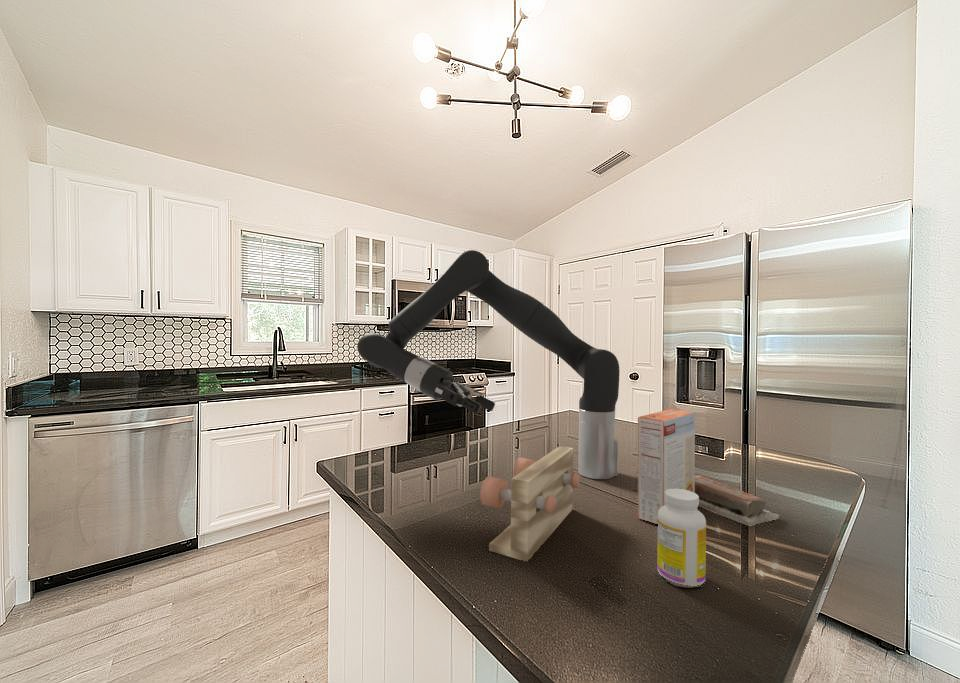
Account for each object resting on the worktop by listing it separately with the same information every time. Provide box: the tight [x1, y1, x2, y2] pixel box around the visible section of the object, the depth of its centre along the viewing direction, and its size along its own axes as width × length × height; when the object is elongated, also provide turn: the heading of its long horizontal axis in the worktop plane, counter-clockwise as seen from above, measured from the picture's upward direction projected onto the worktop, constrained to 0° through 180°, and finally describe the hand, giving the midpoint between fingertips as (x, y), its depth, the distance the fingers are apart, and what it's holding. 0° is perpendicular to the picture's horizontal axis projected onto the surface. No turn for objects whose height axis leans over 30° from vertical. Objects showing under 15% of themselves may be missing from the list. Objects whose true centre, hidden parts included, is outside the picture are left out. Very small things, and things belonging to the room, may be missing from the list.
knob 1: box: [479, 476, 556, 514], centre depth 73 cm, size 13×5×5 cm, turn 60°
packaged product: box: [695, 474, 780, 525], centre depth 91 cm, size 18×5×10 cm
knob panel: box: [488, 445, 574, 563], centre depth 79 cm, size 7×24×13 cm, turn 150°
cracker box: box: [637, 408, 696, 525], centre depth 86 cm, size 14×6×21 cm, turn 131°
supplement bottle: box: [656, 489, 707, 586], centre depth 63 cm, size 7×7×13 cm
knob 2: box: [513, 457, 581, 489], centre depth 86 cm, size 13×5×5 cm, turn 60°
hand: (486, 408), depth 93 cm, fingers open, 8 cm apart
